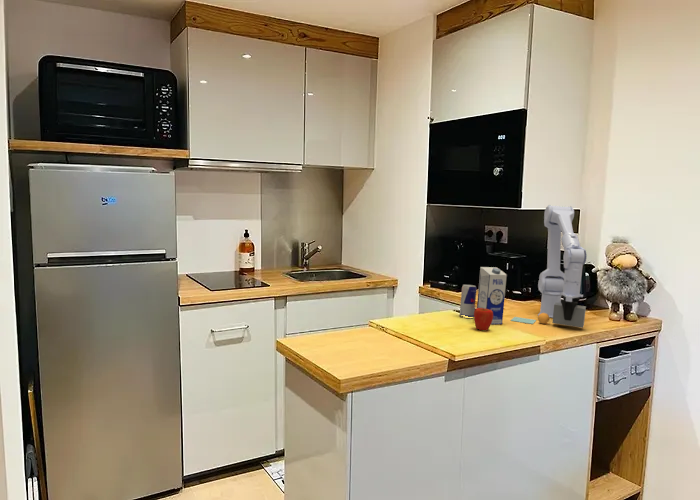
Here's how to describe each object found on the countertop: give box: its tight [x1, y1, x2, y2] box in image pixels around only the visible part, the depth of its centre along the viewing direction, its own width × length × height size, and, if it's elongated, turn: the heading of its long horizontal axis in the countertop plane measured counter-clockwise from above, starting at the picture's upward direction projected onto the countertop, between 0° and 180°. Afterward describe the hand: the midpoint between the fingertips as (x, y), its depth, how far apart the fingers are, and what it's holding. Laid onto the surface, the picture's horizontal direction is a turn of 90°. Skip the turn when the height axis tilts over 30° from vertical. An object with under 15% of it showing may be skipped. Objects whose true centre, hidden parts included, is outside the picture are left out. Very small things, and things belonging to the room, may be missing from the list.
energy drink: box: [459, 284, 477, 317], centre depth 196 cm, size 5×5×12 cm
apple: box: [473, 307, 493, 331], centre depth 177 cm, size 6×6×8 cm
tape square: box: [510, 316, 537, 325], centre depth 197 cm, size 8×8×1 cm
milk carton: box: [476, 266, 508, 325], centre depth 189 cm, size 7×7×20 cm
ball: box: [537, 313, 550, 325], centre depth 193 cm, size 4×4×4 cm
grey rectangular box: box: [551, 302, 587, 329], centre depth 189 cm, size 6×10×7 cm, turn 62°
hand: (568, 318), depth 189 cm, fingers closed on grey rectangular box, 6 cm apart
